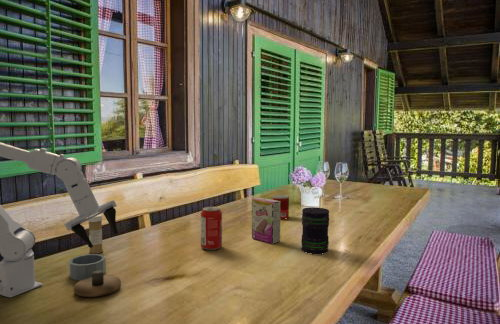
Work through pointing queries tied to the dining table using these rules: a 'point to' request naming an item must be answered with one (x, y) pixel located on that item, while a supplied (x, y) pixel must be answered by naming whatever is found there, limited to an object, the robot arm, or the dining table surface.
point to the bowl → (86, 266)
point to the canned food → (283, 205)
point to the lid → (97, 285)
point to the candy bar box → (266, 220)
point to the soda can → (211, 228)
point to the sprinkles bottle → (95, 234)
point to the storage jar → (315, 230)
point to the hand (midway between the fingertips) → (103, 240)
